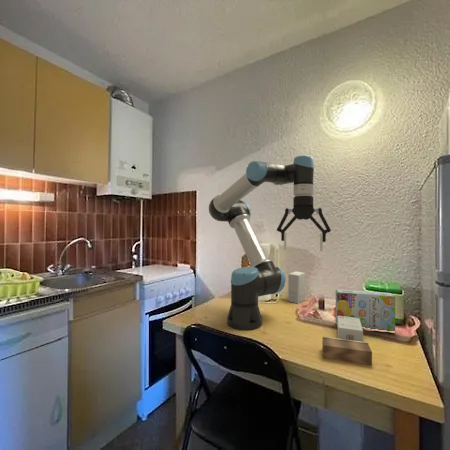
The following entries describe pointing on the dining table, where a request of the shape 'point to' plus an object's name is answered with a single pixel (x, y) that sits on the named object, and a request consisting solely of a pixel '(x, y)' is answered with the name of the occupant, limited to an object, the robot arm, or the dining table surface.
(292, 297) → the skincare box
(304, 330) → the dining table surface
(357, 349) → the walnut step
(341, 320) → the small box
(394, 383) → the dining table surface
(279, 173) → the robot arm
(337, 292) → the snack box
